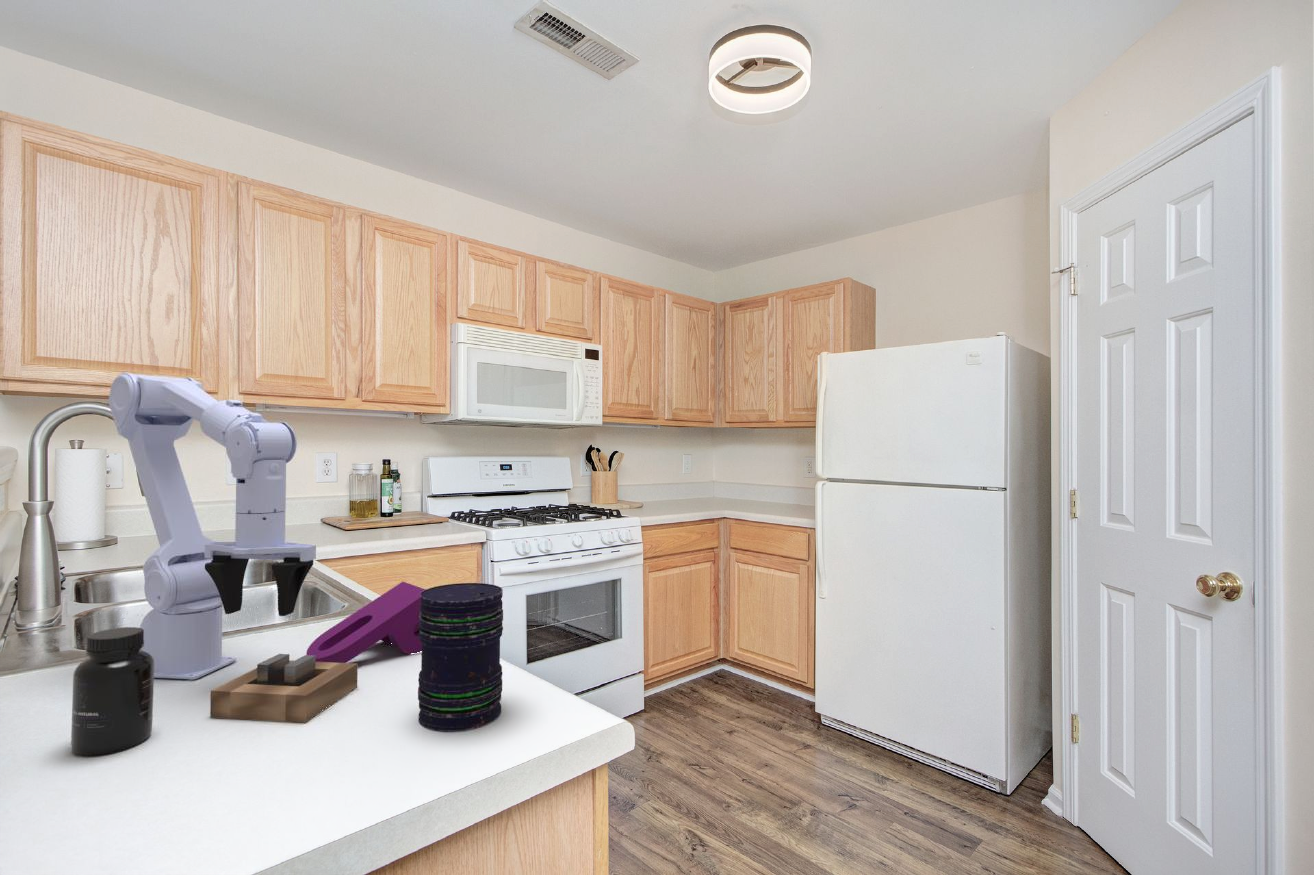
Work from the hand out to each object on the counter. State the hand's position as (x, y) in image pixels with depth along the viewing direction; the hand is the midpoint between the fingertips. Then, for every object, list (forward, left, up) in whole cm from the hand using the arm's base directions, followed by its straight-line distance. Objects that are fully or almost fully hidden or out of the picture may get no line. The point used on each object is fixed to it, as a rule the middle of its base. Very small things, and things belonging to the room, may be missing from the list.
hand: (259, 613), depth 87 cm
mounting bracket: (+8, +15, -10) cm, 20 cm away
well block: (+7, -4, -10) cm, 13 cm away
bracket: (+7, -4, -10) cm, 13 cm away
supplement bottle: (-4, -17, -10) cm, 20 cm away
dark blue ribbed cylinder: (+30, -5, -10) cm, 32 cm away
